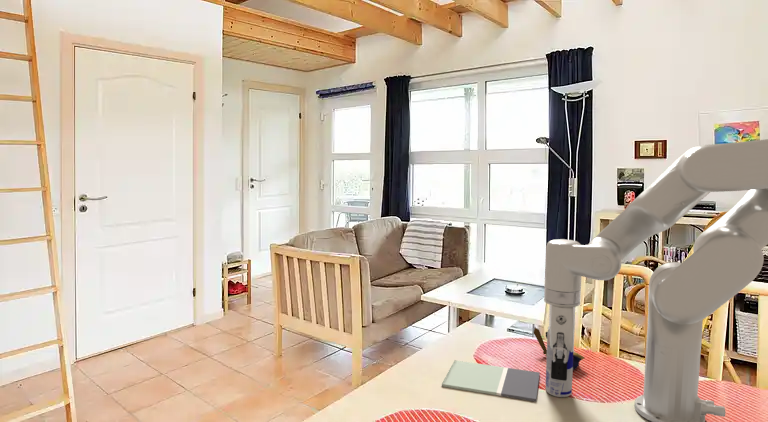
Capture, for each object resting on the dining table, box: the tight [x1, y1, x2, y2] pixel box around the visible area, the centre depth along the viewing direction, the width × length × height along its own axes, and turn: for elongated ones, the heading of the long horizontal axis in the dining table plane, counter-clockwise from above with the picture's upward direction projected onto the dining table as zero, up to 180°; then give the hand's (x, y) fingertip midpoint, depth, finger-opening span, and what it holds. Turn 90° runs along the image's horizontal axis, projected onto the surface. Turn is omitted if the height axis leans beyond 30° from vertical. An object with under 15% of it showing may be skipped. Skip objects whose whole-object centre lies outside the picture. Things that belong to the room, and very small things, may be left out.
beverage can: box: [545, 326, 574, 398], centre depth 110 cm, size 6×6×15 cm
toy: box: [533, 326, 586, 371], centre depth 128 cm, size 9×6×15 cm
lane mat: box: [441, 359, 541, 402], centre depth 117 cm, size 21×14×1 cm, turn 70°
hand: (559, 369), depth 110 cm, fingers open, 9 cm apart
